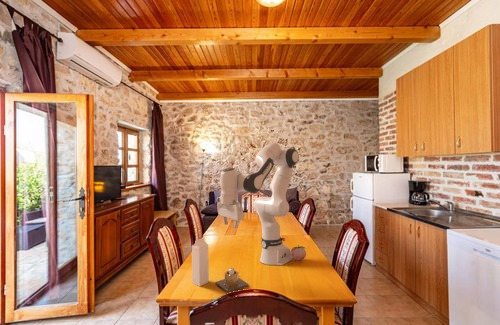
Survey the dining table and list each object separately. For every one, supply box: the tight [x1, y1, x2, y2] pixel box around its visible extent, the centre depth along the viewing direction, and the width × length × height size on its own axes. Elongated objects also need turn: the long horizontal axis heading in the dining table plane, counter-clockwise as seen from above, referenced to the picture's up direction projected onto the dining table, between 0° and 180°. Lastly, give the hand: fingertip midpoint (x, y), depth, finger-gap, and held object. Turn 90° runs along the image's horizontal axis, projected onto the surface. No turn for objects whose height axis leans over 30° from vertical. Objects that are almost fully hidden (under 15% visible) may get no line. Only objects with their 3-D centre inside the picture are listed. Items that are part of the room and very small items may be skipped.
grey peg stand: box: [214, 267, 250, 294], centre depth 125 cm, size 12×12×8 cm
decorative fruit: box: [290, 245, 307, 263], centre depth 154 cm, size 9×8×10 cm
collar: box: [224, 269, 239, 286], centre depth 125 cm, size 6×6×5 cm
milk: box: [191, 237, 210, 287], centre depth 128 cm, size 6×6×22 cm
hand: (230, 226), depth 131 cm, fingers open, 8 cm apart
